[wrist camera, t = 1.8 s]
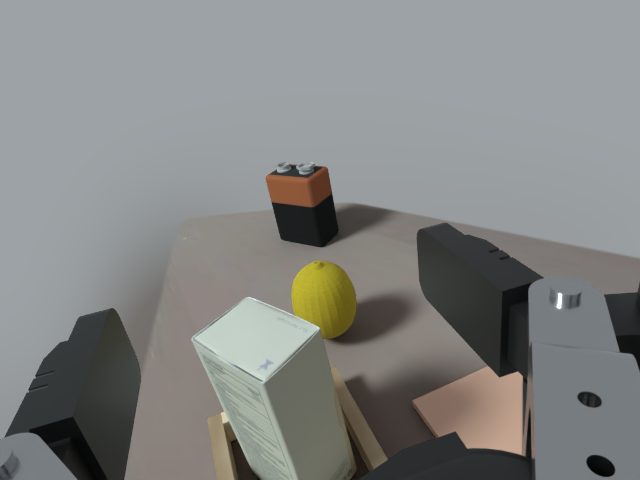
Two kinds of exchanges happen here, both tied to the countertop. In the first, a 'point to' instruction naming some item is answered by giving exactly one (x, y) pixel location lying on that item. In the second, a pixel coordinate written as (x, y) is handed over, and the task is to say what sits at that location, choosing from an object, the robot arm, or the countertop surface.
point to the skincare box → (277, 392)
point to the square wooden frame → (352, 417)
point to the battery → (303, 203)
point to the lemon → (324, 298)
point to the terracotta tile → (477, 410)
